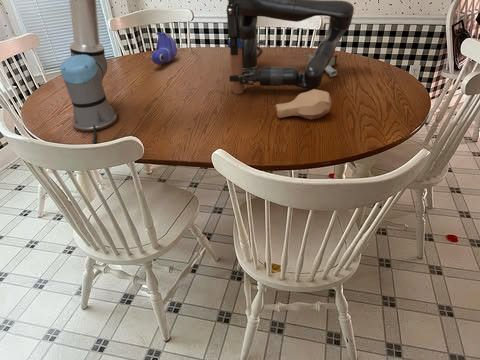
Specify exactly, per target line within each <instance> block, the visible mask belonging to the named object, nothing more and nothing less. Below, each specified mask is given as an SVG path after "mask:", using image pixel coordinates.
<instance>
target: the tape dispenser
mask: <svg viewBox="0 0 480 360" xmlns="http://www.w3.org/2000/svg"><path fill="white" fill-rule="evenodd" d="M313 56H314V54H308V63H309V62H310V60H311V59H312V58H313ZM337 59H338V54H337V53H336V52H335V51H334V53H333V56H332V58H331V60H330V62H329V64H328V66H327V67H326V68H325V69H324V71H325V73H326V74H328V76H329V77H330V78H333V77H336V76H337V75H338V70H337V69H335V68H333V66H336V64H337Z"/></svg>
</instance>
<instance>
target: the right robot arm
mask: <svg viewBox="0 0 480 360" xmlns="http://www.w3.org/2000/svg"><path fill="white" fill-rule="evenodd" d="M238 2H239V3H240V4H239V11H240V27H241V29H240V30H242V32H239V33H240V39H242V41H243V47H241V48H242V66H243V75H240V76H232V75H229V82H232V81H238V82H240V84H243V85H246V86H254V85H255V84H254V83H259V85H260V86H261V87H280V86H294V87H297V88H302V89H307V90H313V89H317V88H319V87H320V86H321V85H322V81H323V75H324V71H325V70H324V69H325V68H326V67H327V66H328V64H329V62H330V60H331V58H332V56H333V53H334V52H335V51H336V50H337V46H338V44H339V43H340V41H341V39H342V38H343V36H344V35H345V33H346V32H347V31H348V29H349V28H350V26H351V24H352V21H353V17H354V14H355V13H354V11H355V7H354V5H353V3H351V2H349V1H346V0H238ZM318 16H320V17H321V16H322V17H329V18H328V19H329V21H328V22H329V24H328V28H327V32H326V34H325V36H324V38H323V39H322V40H321V41H320V42H319V44H318V46H317V47H316V49H315V52H314V54H313V55H314V56H313V58H312V59H311V60H310V62H309V61H308V63H307V65H306V67H305V68H304V73H302V72H299V70H298V69H299V68H297V67H293V66H290V67H289V66H284V67H283V66H261V67H260V68H259V70H258V57H259V55H260V54H261V53H262V52H263V49H262V48H260V47H259V46H258V45H259V44H264V42H263V41H258V37H257V34H258V33H257V25H258V17H264V18H269V19H273V20H274V19H275V20H280V21H285V22H286V21H287V22H295V23H297V22H302V21H305V20H308V19H311V18H313V17H318ZM258 50H260V51H259V52H258Z"/></svg>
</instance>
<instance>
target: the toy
mask: <svg viewBox="0 0 480 360" xmlns="http://www.w3.org/2000/svg"><path fill="white" fill-rule="evenodd" d="M155 35H156V36H157V35H158V38H157V39H156V45H155V51H151V53H152V54H151V56H150V60H151V61H152V62H153V63H154V64H156V65H157V67H158V68H159V69H161V66H162V64H167V63H169V62H171V61H173V60H174V59H175V57H177V55H178V46H177V43H176V41H175V39H174V38H173V37H172V36H171V35H170V36H168V35H167V34H166V32H164V31H162V32H159V31H158V32H156V33H155Z"/></svg>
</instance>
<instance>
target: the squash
mask: <svg viewBox="0 0 480 360" xmlns="http://www.w3.org/2000/svg"><path fill="white" fill-rule="evenodd" d="M331 107H332V98H331V94H330V92H328V91H326V90H321V89H317V88H315V89H309V90H308V91H305V92H301V93H299V94H298V95H297V96H296V97H295V98H294V99H293V100H292V101H289V102H288V101H287V102H283V103H276V104H275V106H274V110H275V111H276V116H277V118H278V119H283V118H286V117H301V118H304V119H308V120H316V119H321V118H322V117H324V116H326V115H328V114H330V111H331Z"/></svg>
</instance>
